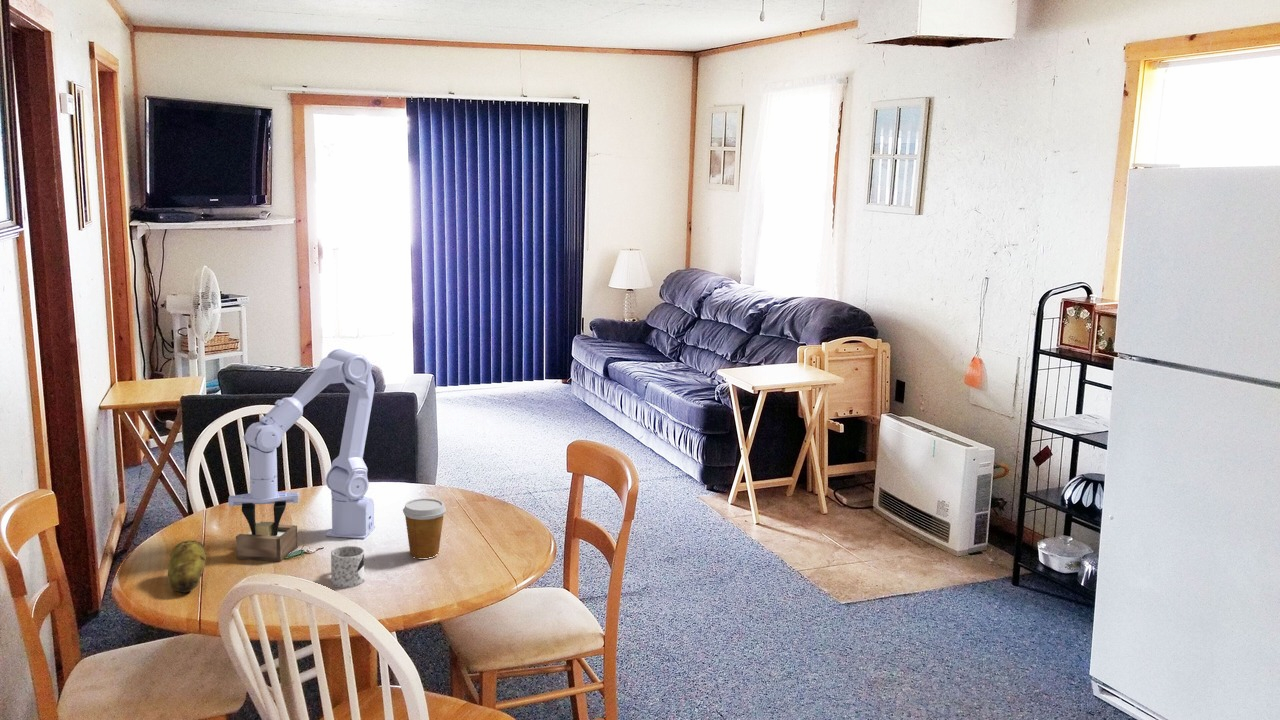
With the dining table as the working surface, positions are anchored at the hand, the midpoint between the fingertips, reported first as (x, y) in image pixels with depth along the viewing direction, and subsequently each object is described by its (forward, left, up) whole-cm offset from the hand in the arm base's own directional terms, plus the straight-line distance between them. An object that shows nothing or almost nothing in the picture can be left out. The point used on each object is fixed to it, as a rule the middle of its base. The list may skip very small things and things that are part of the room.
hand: (265, 534), depth 216 cm
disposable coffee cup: (-35, -5, -4) cm, 36 cm away
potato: (+8, +19, -4) cm, 21 cm away
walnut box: (0, 0, -4) cm, 4 cm away
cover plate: (0, 0, -1) cm, 1 cm away
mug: (-23, +11, -5) cm, 26 cm away
